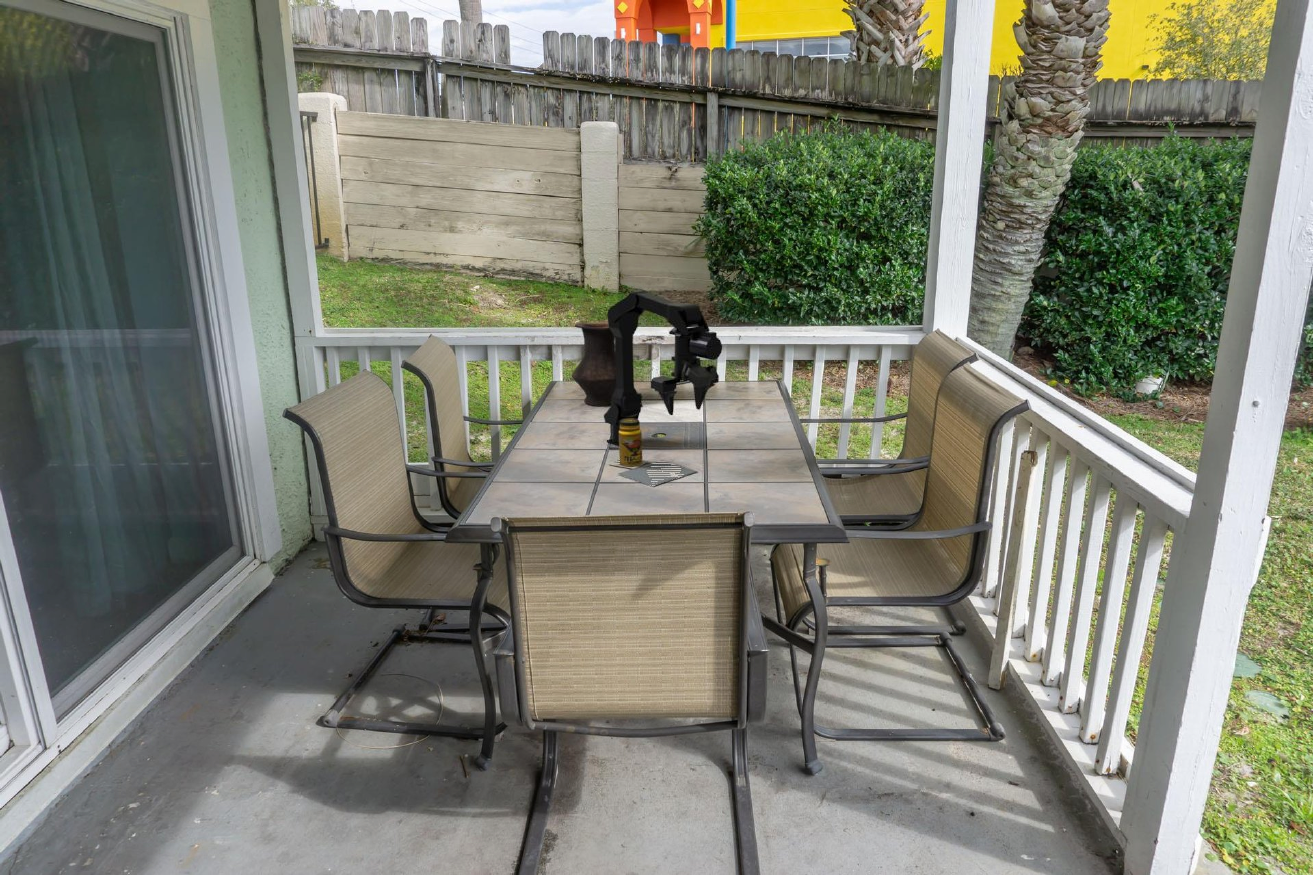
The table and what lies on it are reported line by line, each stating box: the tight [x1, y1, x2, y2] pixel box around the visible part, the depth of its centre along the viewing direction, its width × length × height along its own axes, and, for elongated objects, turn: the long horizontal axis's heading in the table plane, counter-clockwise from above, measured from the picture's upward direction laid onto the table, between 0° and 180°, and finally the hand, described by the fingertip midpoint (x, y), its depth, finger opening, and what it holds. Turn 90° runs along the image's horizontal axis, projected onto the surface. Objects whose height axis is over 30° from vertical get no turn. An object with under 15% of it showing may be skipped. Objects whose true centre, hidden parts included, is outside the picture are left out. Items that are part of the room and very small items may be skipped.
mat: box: [617, 459, 698, 487], centre depth 230 cm, size 13×16×1 cm
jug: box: [571, 320, 616, 406], centre depth 296 cm, size 21×18×30 cm
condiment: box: [608, 418, 649, 469], centre depth 236 cm, size 7×8×12 cm
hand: (684, 412), depth 234 cm, fingers open, 9 cm apart
